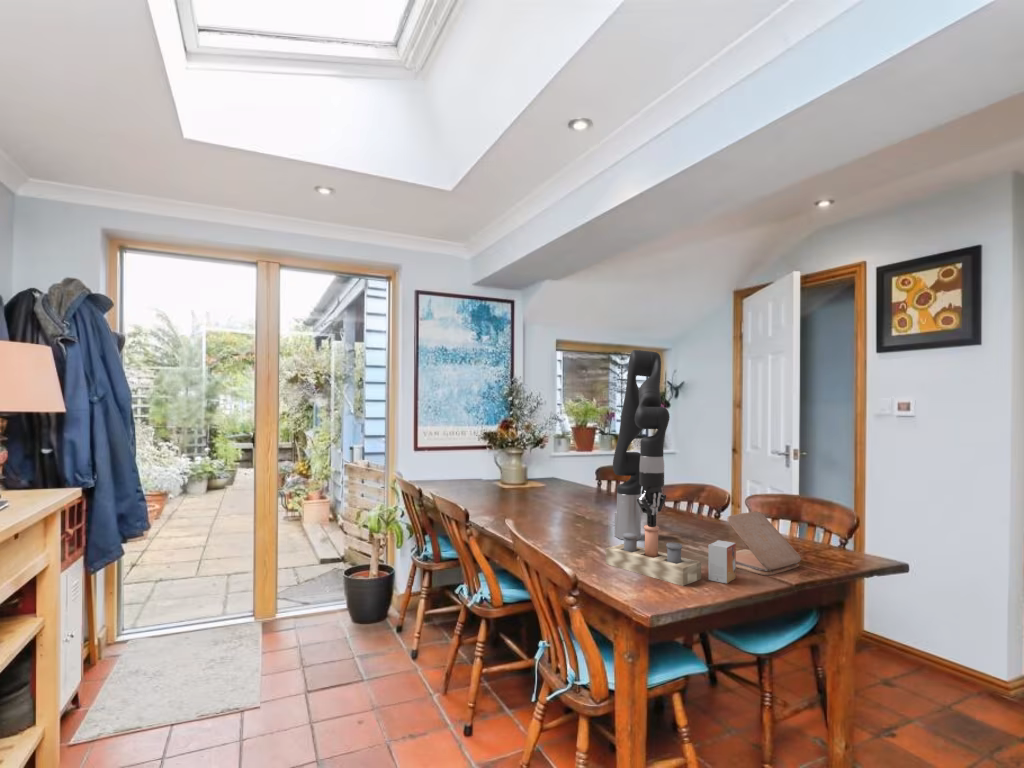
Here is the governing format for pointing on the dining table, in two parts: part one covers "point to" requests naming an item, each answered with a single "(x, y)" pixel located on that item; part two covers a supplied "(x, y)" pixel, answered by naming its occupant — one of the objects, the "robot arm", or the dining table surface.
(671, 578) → the socket block
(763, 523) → the case
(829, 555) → the dining table surface
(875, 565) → the dining table surface
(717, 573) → the small box
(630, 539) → the plug left
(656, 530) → the plug mid
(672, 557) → the plug right
